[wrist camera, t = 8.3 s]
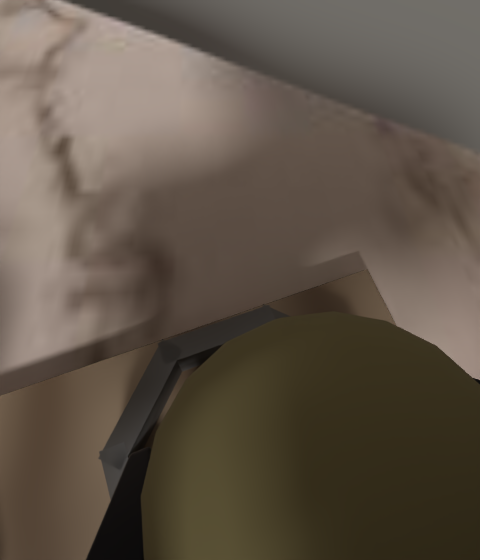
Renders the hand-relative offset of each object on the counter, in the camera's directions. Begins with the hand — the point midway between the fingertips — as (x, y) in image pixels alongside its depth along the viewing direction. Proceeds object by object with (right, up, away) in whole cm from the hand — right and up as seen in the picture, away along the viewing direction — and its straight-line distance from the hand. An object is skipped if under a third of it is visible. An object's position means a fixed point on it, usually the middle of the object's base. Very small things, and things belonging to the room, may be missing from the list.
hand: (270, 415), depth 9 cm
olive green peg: (0, -4, +6) cm, 7 cm away
